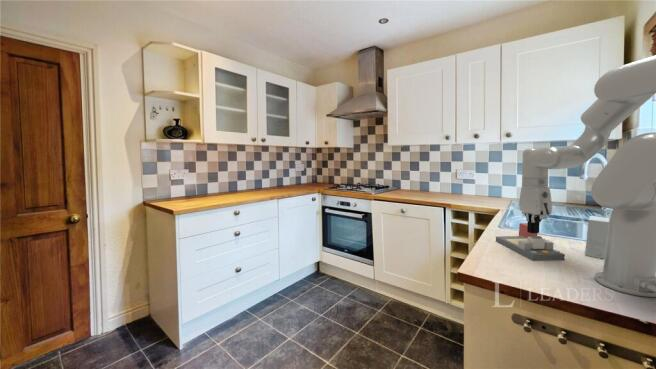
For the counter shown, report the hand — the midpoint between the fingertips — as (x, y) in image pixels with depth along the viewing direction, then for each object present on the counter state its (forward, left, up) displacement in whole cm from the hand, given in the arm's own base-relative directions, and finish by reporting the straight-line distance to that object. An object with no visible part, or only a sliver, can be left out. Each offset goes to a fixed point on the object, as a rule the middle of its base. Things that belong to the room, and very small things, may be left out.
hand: (533, 232), depth 100 cm
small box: (-4, -21, -8) cm, 22 cm away
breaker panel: (+2, 0, -7) cm, 8 cm away
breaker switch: (-2, 0, -5) cm, 5 cm away
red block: (+15, -10, -7) cm, 19 cm away
